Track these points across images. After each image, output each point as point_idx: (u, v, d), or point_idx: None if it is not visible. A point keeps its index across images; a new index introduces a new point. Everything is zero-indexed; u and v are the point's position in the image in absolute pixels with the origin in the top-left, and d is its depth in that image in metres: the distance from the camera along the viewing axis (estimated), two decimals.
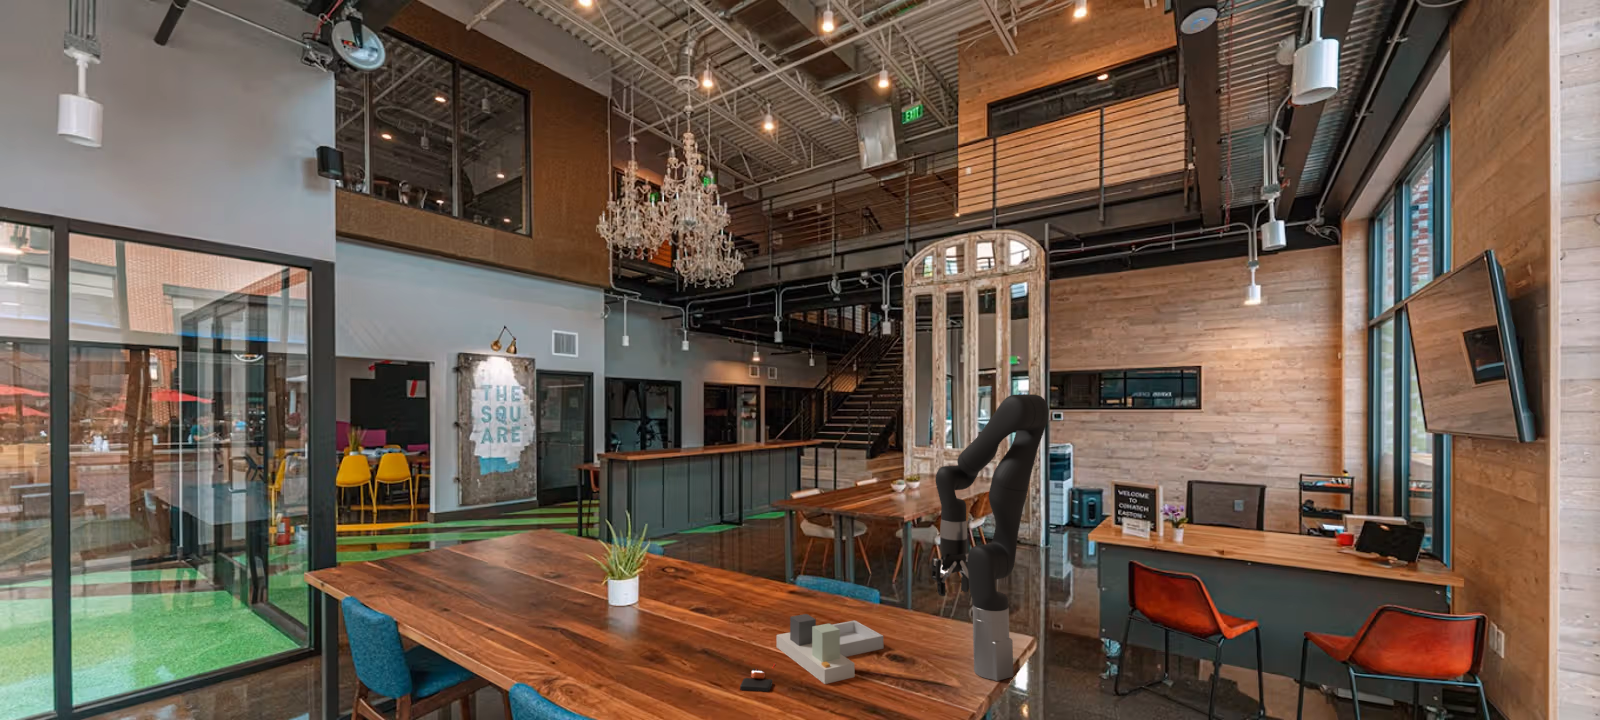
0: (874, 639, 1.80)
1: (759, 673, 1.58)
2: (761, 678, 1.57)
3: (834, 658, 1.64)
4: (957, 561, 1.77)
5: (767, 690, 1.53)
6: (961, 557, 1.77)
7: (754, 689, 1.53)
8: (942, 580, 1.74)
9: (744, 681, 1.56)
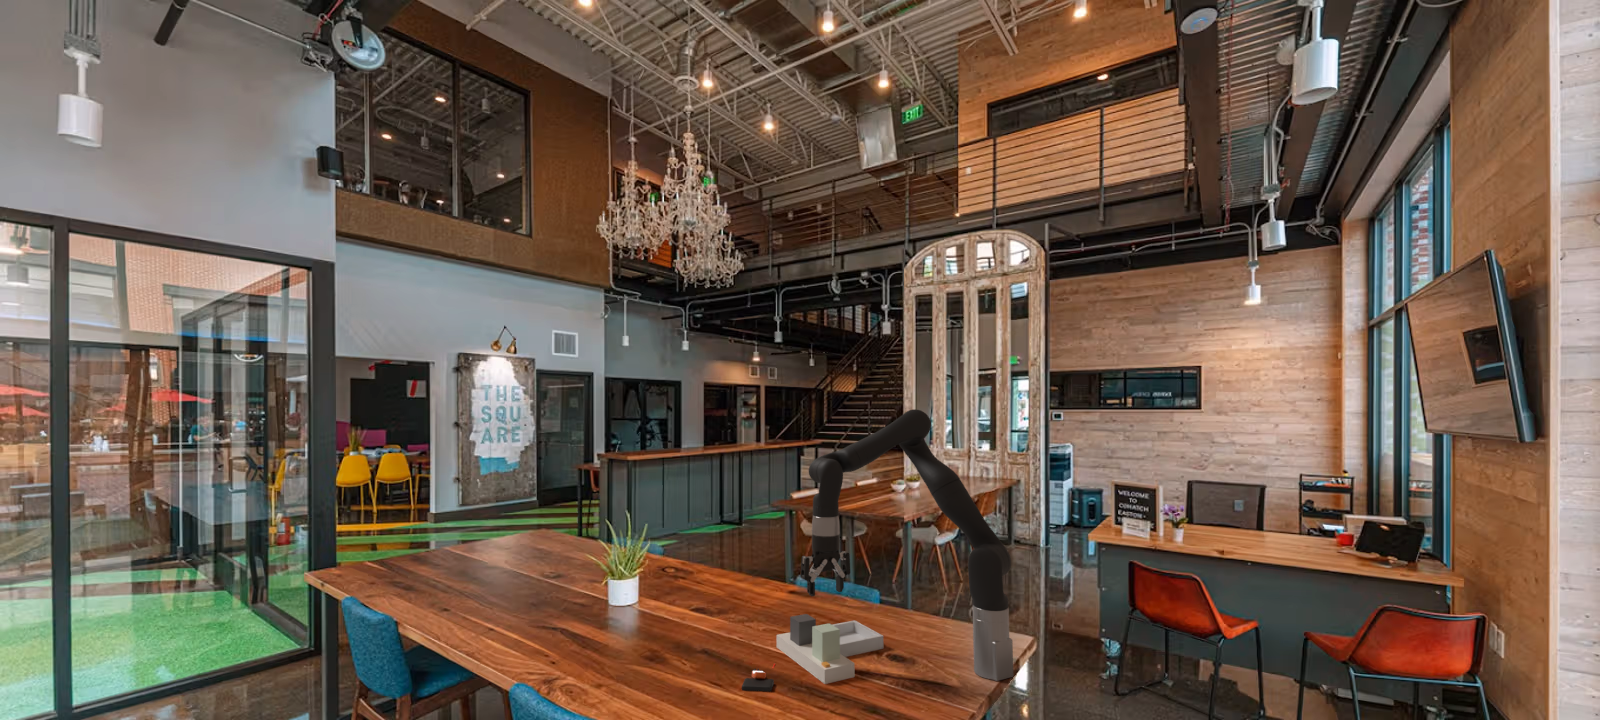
0: (874, 639, 1.80)
1: (760, 673, 1.58)
2: (762, 678, 1.57)
3: (834, 658, 1.64)
4: (829, 559, 1.67)
5: (769, 690, 1.53)
6: (834, 555, 1.68)
7: (756, 689, 1.53)
8: (811, 579, 1.64)
9: (745, 681, 1.56)
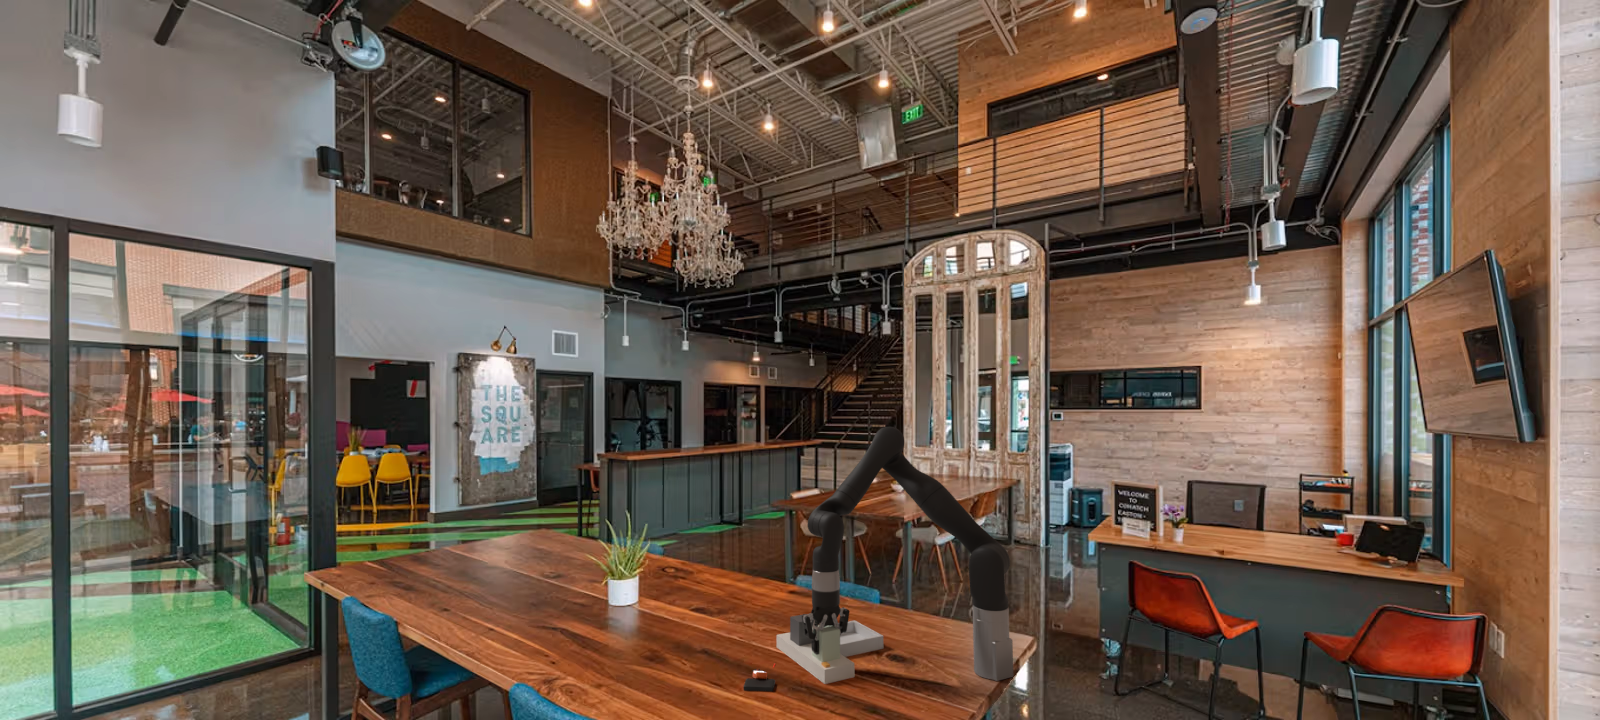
0: (874, 639, 1.80)
1: (762, 673, 1.58)
2: (764, 678, 1.57)
3: (834, 658, 1.64)
4: (829, 614, 1.66)
5: (771, 690, 1.53)
6: (834, 609, 1.67)
7: (758, 689, 1.53)
8: (815, 638, 1.64)
9: (747, 681, 1.56)
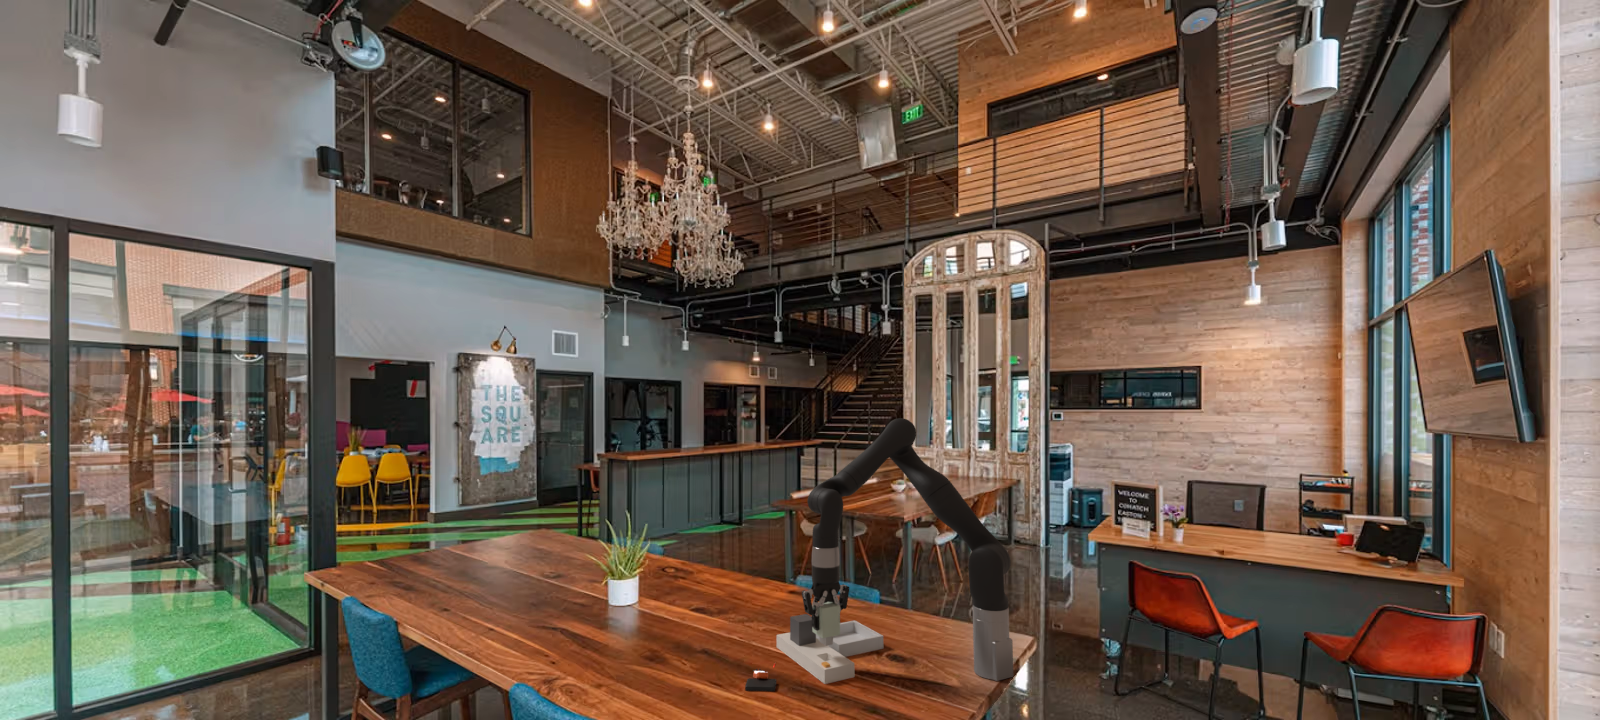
0: (874, 639, 1.80)
1: (763, 673, 1.58)
2: (765, 678, 1.58)
3: (834, 634, 1.64)
4: (829, 590, 1.66)
5: (772, 690, 1.53)
6: (834, 586, 1.67)
7: (759, 689, 1.53)
8: (815, 614, 1.64)
9: (748, 681, 1.56)
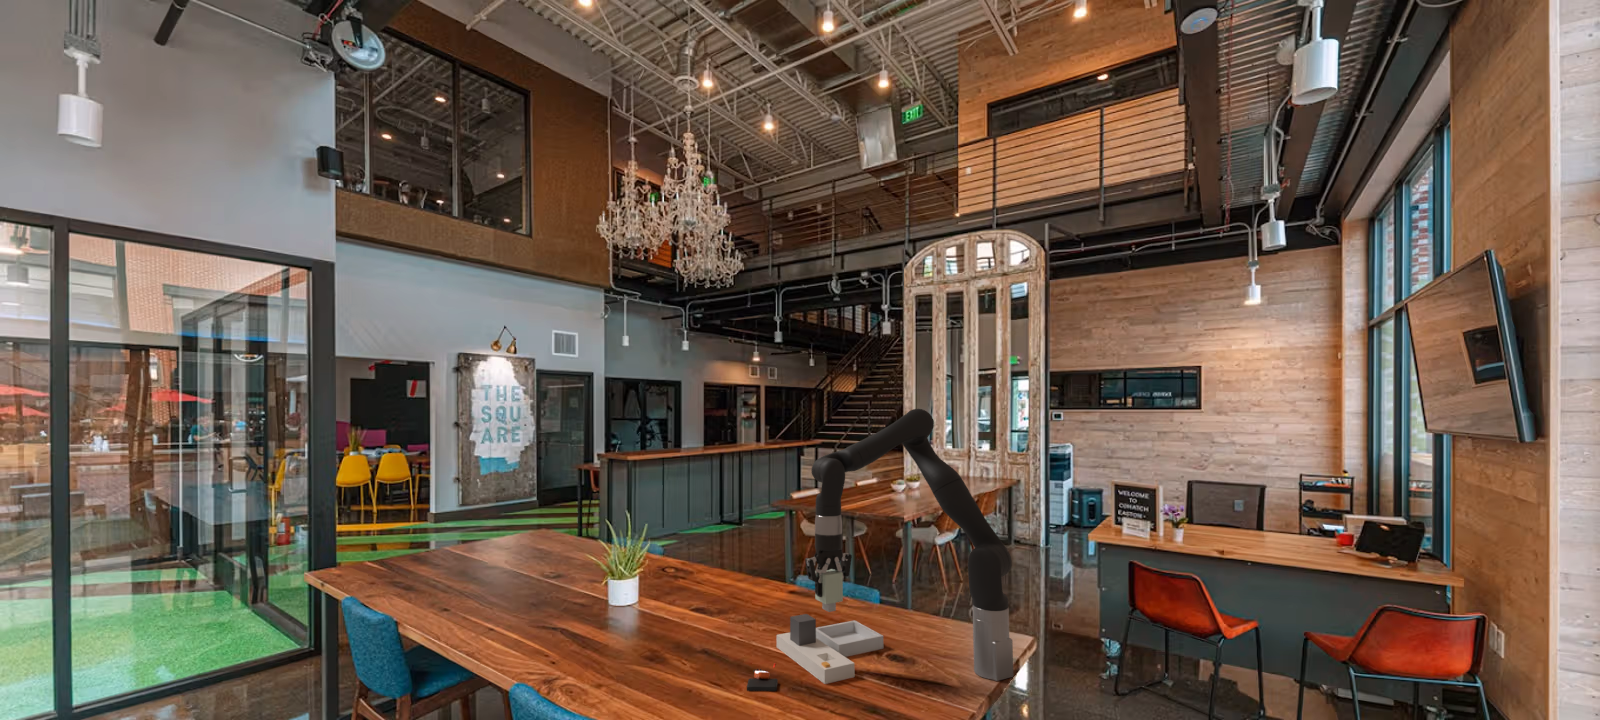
0: (874, 639, 1.80)
1: (764, 673, 1.58)
2: (766, 678, 1.58)
3: (837, 600, 1.67)
4: (832, 558, 1.69)
5: (774, 689, 1.53)
6: (837, 554, 1.70)
7: (761, 689, 1.53)
8: (819, 580, 1.66)
9: (750, 681, 1.56)
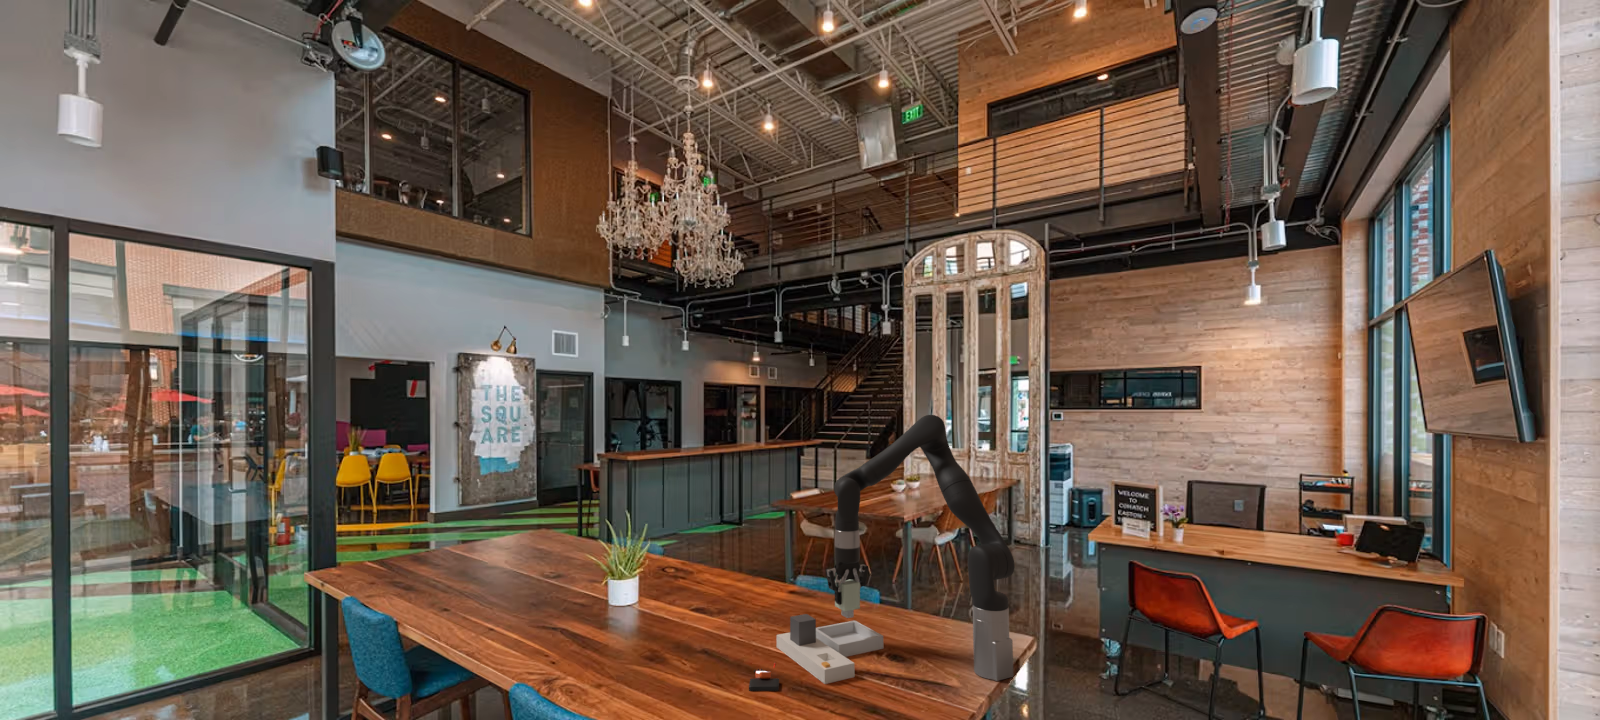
0: (874, 639, 1.80)
1: (766, 673, 1.58)
2: (768, 678, 1.58)
3: (855, 608, 1.83)
4: (850, 569, 1.85)
5: (776, 689, 1.53)
6: (854, 565, 1.86)
7: (763, 689, 1.53)
8: (838, 590, 1.83)
9: (751, 682, 1.56)
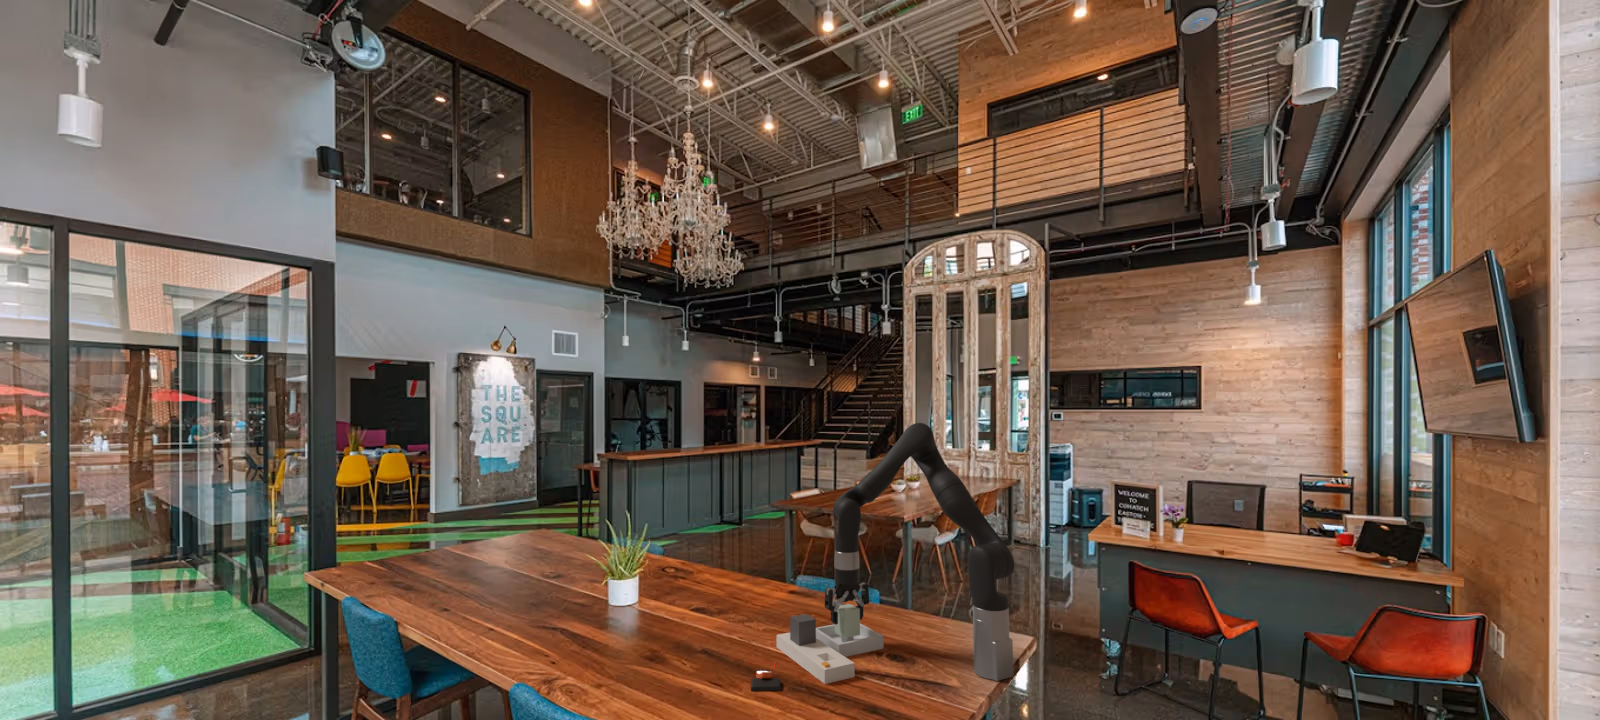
0: (874, 639, 1.80)
1: (767, 673, 1.58)
2: (769, 678, 1.58)
3: (855, 634, 1.82)
4: (850, 590, 1.85)
5: (778, 689, 1.54)
6: (854, 586, 1.85)
7: (765, 689, 1.54)
8: (834, 609, 1.81)
9: (753, 682, 1.56)
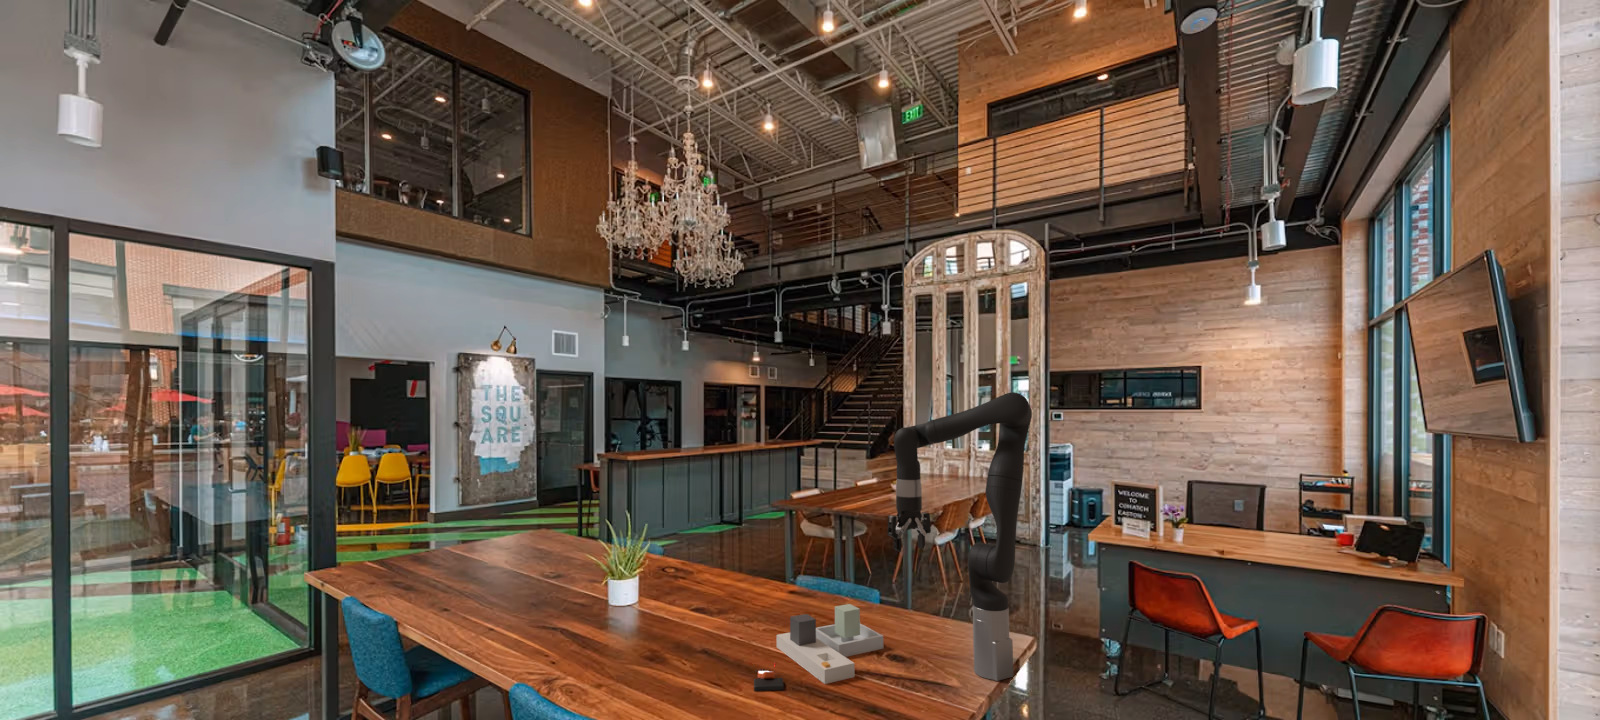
0: (874, 639, 1.80)
1: (770, 673, 1.58)
2: (772, 677, 1.58)
3: (855, 634, 1.82)
4: (912, 518, 1.84)
5: (782, 688, 1.54)
6: (916, 515, 1.84)
7: (768, 689, 1.54)
8: (897, 536, 1.81)
9: (756, 682, 1.56)
